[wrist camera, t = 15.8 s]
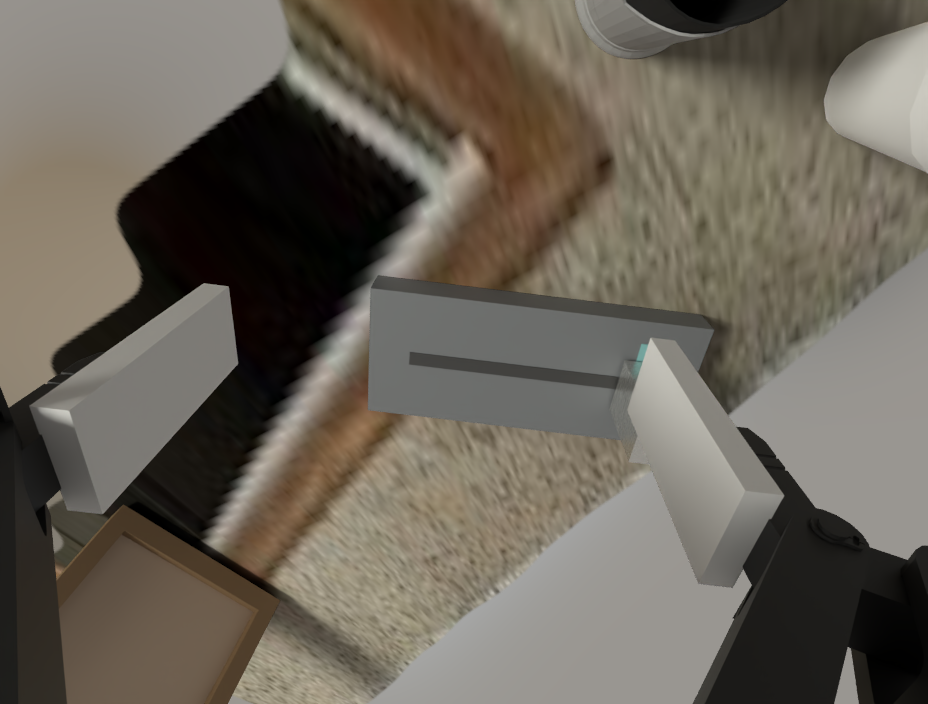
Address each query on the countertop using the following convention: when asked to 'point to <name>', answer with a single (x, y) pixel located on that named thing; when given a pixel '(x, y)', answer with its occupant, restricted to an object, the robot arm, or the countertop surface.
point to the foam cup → (884, 96)
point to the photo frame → (155, 619)
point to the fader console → (510, 354)
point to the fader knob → (621, 414)
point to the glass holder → (663, 22)
